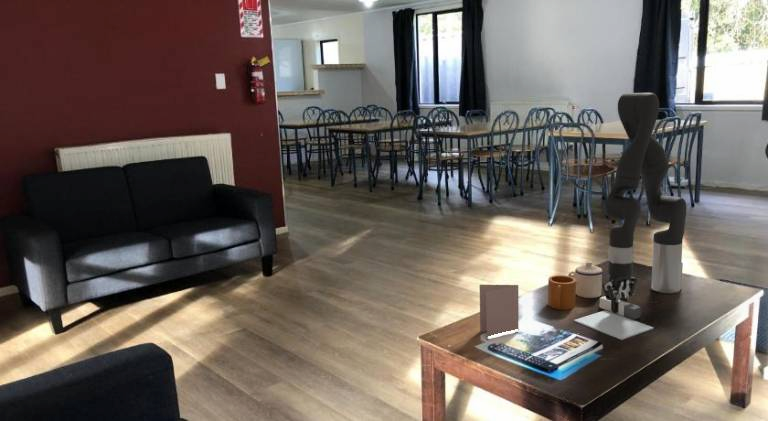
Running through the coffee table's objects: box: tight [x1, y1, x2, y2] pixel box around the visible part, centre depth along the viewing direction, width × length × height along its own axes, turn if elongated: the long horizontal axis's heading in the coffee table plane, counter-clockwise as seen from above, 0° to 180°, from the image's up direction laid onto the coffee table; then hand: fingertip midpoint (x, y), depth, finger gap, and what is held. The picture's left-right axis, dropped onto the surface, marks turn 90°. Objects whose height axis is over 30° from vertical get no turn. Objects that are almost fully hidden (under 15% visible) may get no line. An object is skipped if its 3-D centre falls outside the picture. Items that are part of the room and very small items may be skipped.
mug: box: [547, 274, 577, 310], centre depth 210 cm, size 9×12×9 cm
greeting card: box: [479, 284, 519, 338], centre depth 188 cm, size 11×7×15 cm, turn 80°
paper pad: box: [573, 309, 654, 341], centre depth 194 cm, size 14×18×1 cm
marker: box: [599, 295, 642, 321], centre depth 204 cm, size 14×3×3 cm, turn 30°
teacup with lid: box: [567, 261, 603, 299], centre depth 221 cm, size 12×9×12 cm
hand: (618, 310), depth 204 cm, fingers closed on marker, 3 cm apart
